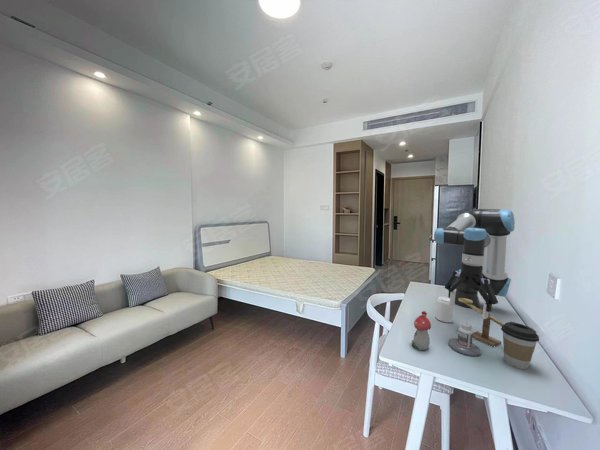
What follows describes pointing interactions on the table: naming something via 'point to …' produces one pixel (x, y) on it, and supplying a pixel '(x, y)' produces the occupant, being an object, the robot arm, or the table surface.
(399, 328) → the table surface
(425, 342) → the decorative ornament
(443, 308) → the beverage can
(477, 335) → the balance
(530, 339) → the coffee cup
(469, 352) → the flat grey disc
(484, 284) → the robot arm
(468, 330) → the pill bottle
